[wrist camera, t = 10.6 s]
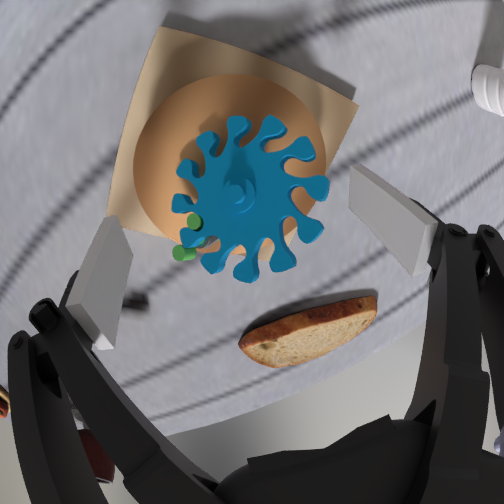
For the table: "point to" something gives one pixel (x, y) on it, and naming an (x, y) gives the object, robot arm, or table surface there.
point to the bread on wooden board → (214, 127)
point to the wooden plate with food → (4, 403)
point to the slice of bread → (308, 332)
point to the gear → (246, 198)
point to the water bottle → (489, 88)
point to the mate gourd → (95, 453)
